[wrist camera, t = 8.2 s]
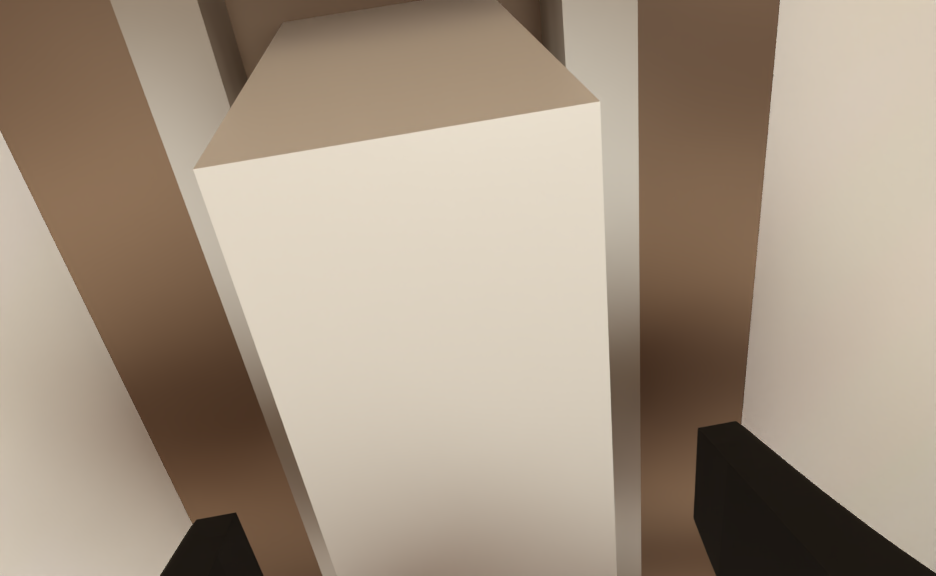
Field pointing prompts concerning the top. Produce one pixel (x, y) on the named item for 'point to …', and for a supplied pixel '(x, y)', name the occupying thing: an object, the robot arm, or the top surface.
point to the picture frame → (216, 301)
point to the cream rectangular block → (427, 287)
